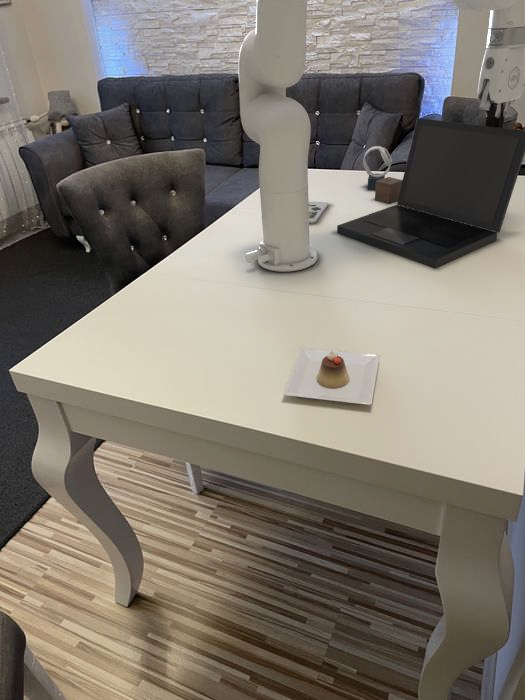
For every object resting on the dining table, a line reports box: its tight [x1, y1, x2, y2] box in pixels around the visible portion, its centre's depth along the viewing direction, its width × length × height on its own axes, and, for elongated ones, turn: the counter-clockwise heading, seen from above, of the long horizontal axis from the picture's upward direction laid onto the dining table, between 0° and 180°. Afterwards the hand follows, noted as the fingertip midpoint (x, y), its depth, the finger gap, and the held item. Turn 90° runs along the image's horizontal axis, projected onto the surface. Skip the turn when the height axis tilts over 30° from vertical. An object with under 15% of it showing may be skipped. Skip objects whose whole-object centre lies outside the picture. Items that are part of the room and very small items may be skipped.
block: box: [374, 176, 403, 204], centre depth 141 cm, size 5×5×5 cm
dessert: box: [281, 347, 381, 406], centre depth 75 cm, size 12×12×5 cm
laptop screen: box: [396, 117, 525, 233], centre depth 119 cm, size 20×28×1 cm
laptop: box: [336, 204, 498, 269], centre depth 119 cm, size 20×28×2 cm
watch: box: [362, 145, 393, 191], centre depth 149 cm, size 6×8×11 cm
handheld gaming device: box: [308, 200, 329, 225], centre depth 137 cm, size 9×1×15 cm
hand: (492, 136), depth 115 cm, fingers closed
